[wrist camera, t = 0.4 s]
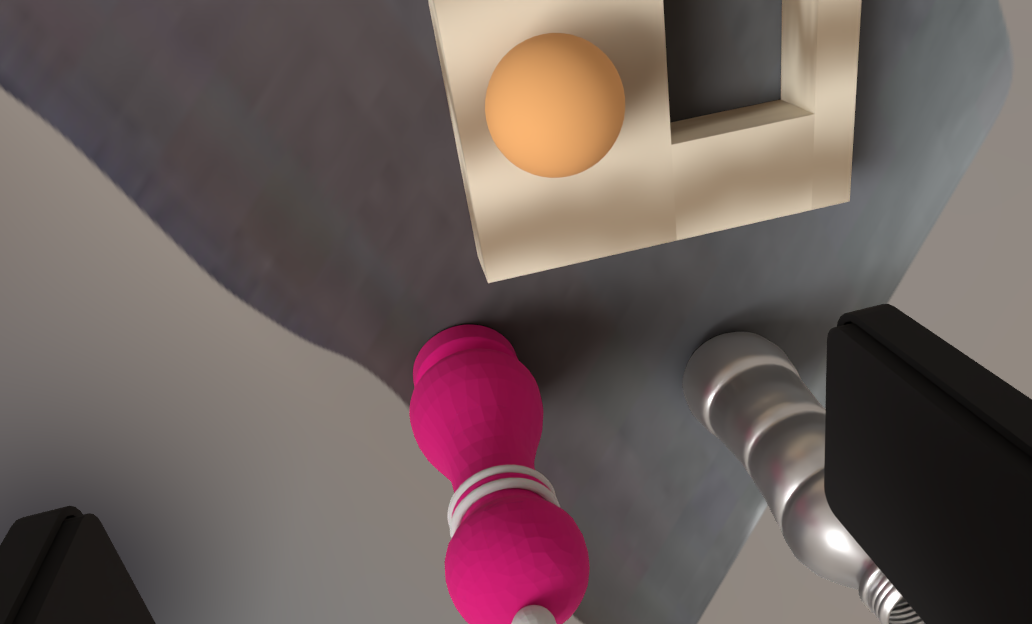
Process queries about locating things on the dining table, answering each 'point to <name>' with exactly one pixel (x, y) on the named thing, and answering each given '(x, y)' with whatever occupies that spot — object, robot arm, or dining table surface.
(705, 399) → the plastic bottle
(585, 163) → the ball
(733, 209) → the hole board
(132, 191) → the dining table surface
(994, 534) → the robot arm
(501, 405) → the pepper mill
